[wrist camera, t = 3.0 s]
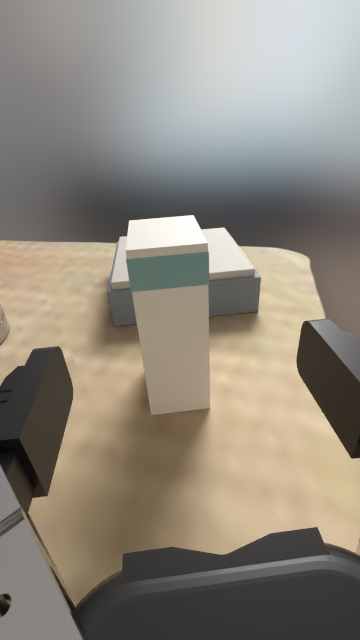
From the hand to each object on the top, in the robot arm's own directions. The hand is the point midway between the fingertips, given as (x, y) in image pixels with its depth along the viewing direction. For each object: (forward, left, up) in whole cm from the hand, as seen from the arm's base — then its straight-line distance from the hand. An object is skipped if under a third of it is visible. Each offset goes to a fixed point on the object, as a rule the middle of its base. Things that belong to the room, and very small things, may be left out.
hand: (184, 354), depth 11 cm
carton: (0, +11, -12) cm, 17 cm away
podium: (+2, +29, -12) cm, 32 cm away
